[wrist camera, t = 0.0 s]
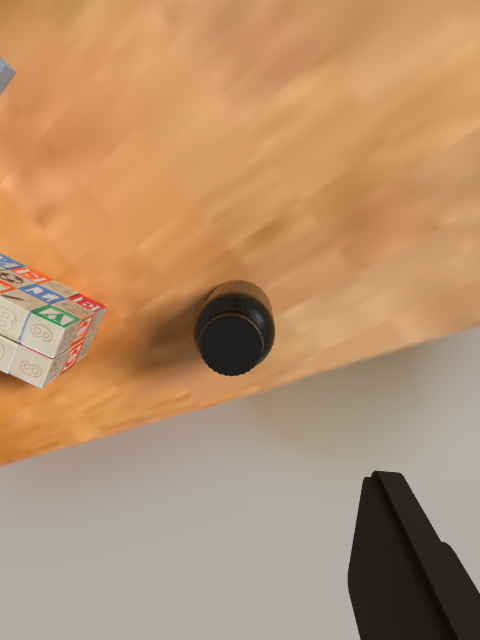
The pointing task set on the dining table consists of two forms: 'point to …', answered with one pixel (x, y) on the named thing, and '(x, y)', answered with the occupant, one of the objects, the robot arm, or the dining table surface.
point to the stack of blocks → (42, 324)
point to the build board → (5, 74)
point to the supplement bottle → (234, 328)
